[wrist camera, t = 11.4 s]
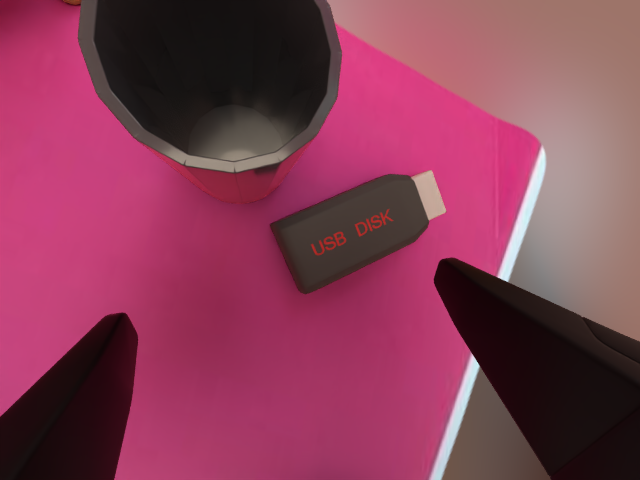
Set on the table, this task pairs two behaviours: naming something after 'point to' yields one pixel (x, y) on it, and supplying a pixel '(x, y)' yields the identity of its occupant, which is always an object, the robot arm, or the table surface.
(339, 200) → the usb drive
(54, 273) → the table surface
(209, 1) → the pen pot
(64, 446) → the robot arm
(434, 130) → the table surface
